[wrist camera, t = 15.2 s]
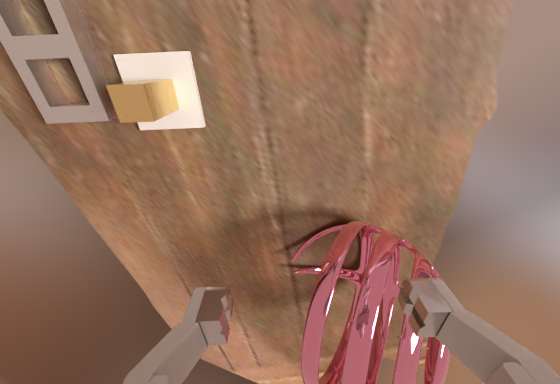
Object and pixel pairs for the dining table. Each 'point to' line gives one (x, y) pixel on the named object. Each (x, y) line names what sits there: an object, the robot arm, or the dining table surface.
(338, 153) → the dining table surface
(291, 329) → the dining table surface
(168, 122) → the pad
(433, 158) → the dining table surface
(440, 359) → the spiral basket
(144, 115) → the block
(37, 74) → the rail
